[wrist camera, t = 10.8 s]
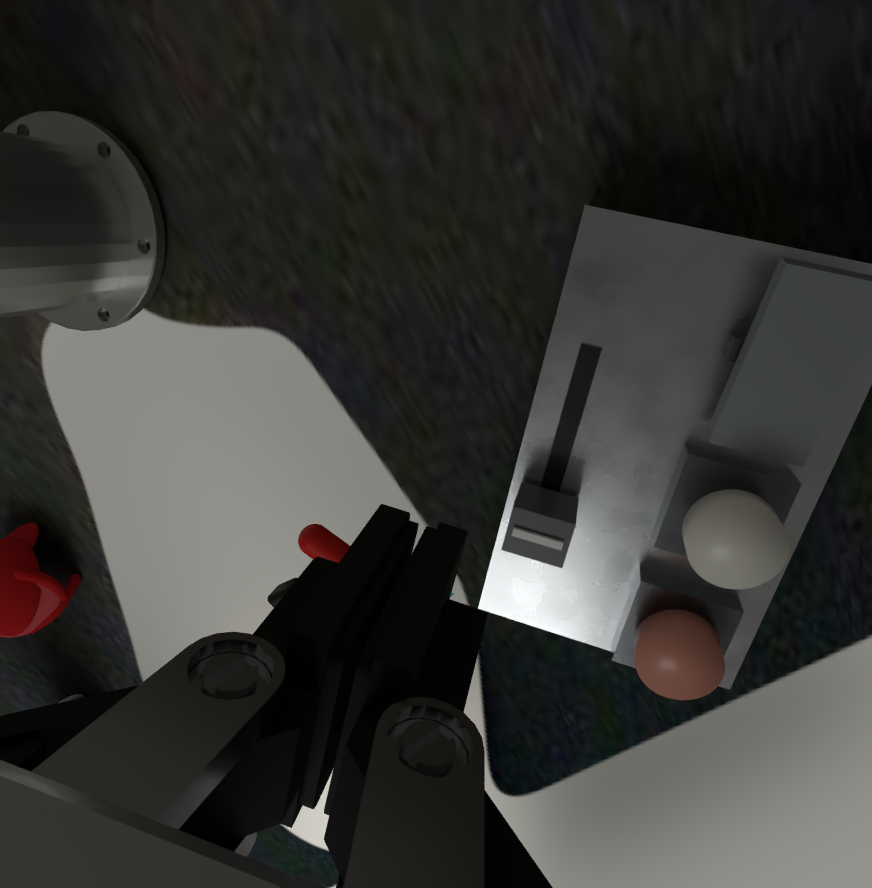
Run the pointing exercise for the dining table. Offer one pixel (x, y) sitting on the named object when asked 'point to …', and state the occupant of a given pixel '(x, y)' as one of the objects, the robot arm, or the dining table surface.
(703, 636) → the button terracotta
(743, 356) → the plate
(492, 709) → the dining table surface
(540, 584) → the console
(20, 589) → the cap
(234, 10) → the dining table surface
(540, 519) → the slider knob
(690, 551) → the button cream
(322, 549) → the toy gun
